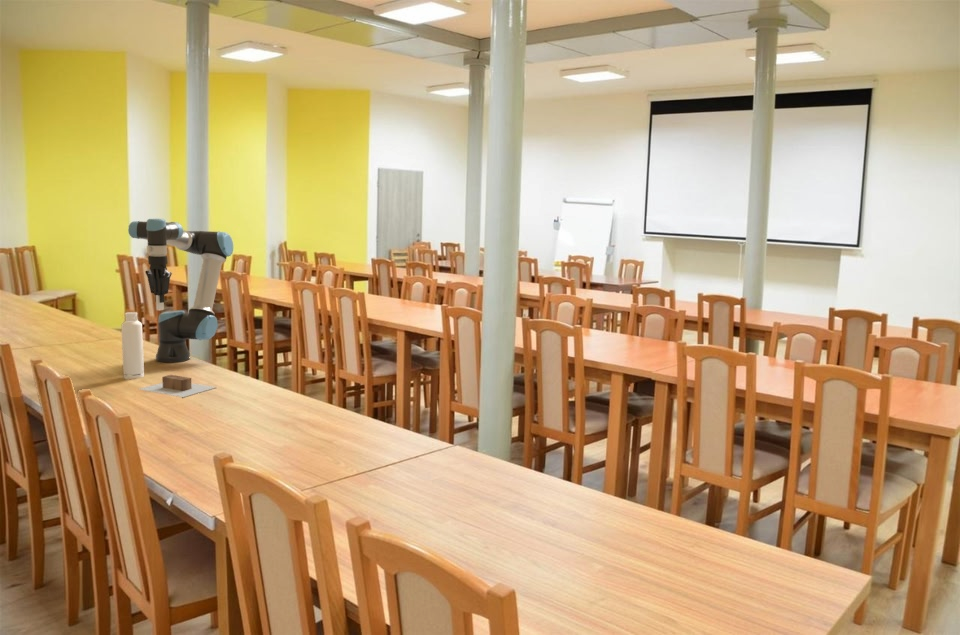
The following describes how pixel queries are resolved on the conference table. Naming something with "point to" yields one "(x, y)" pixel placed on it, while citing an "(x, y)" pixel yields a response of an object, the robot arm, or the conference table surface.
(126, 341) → the bottle
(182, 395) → the felt mat
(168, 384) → the walnut block
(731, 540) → the conference table surface
